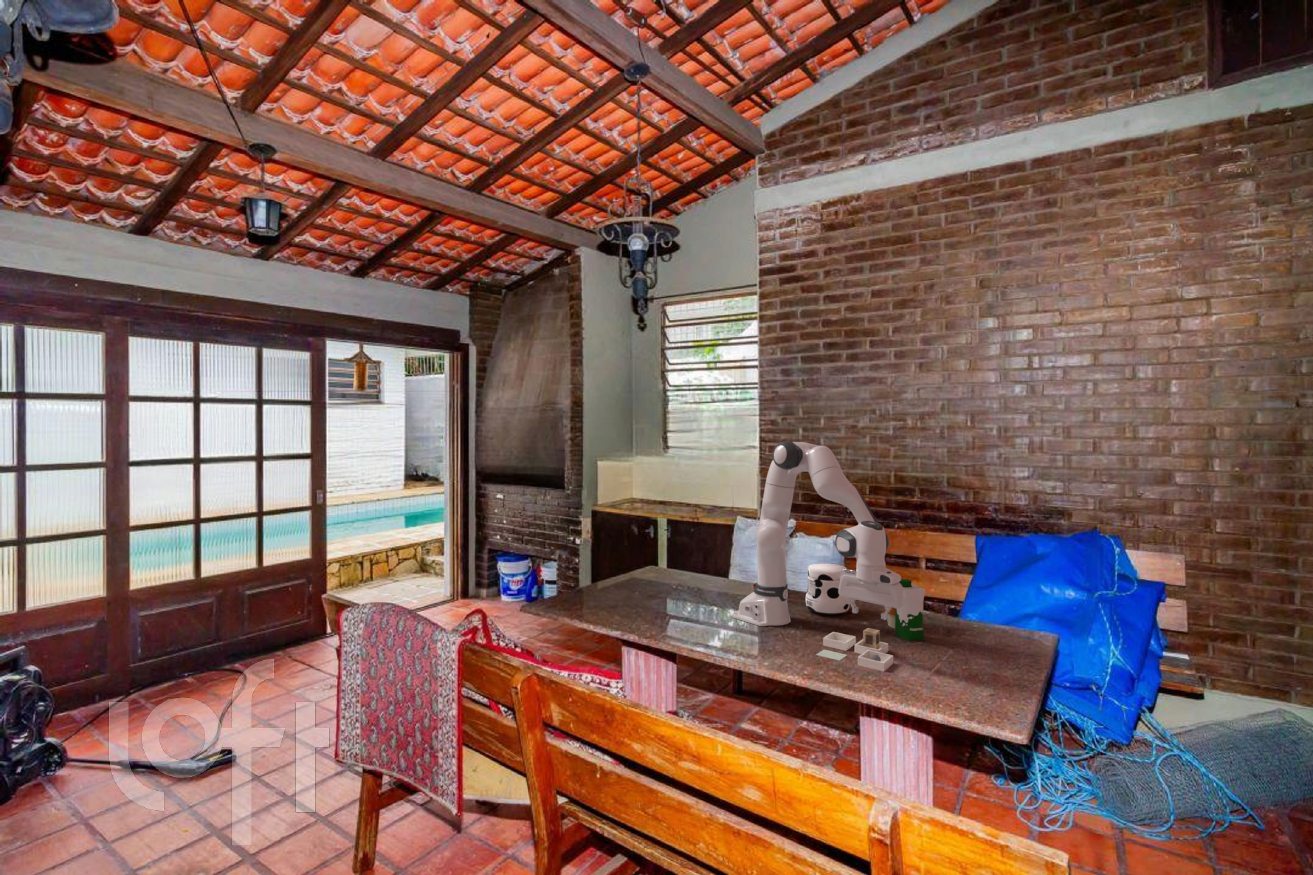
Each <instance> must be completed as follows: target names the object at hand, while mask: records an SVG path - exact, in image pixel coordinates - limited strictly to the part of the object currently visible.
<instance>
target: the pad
mask: <svg viewBox="0 0 1313 875" xmlns="http://www.w3.org/2000/svg"><path fill="white" fill-rule="evenodd" d="M815 655H816V656H818V657H823V658H827V659H831V660H835V661H842V660H843V659H844V658H846V657H848V654H844V653H840V652H837V651H832V650H827V649H822V650H821V651H819V652H818V653H816V654H815Z"/></svg>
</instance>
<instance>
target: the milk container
mask: <svg viewBox="0 0 1313 875" xmlns="http://www.w3.org/2000/svg"><path fill="white" fill-rule="evenodd" d="M843 569H848V568H847V567H845V565H841V564H835V563H834V564H833V563H814V564H810V565H808V569H807V590H806V594H805V605H806V608H807V609H808V610H809V611H811V612H812V613H816V614H819V615H826V616H836V615H837V616H838V615H842V614H845V613H847V612H848V611H849V609H850V606H851V605H850V603H849V598H845V597H841V596H840V595H839V584H840V571H841V570H843Z"/></svg>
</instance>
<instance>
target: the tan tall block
mask: <svg viewBox="0 0 1313 875" xmlns="http://www.w3.org/2000/svg"><path fill="white" fill-rule="evenodd" d="M880 631H881V630H880V629H879V630H878V629H875V628H871V627H867V628H866V629H864V630H863V631H862V639H863V646H865V647H869V648H874V649H879V648H880V642H881V640H880V639H881V637H880V635H881V632H880Z"/></svg>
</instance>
